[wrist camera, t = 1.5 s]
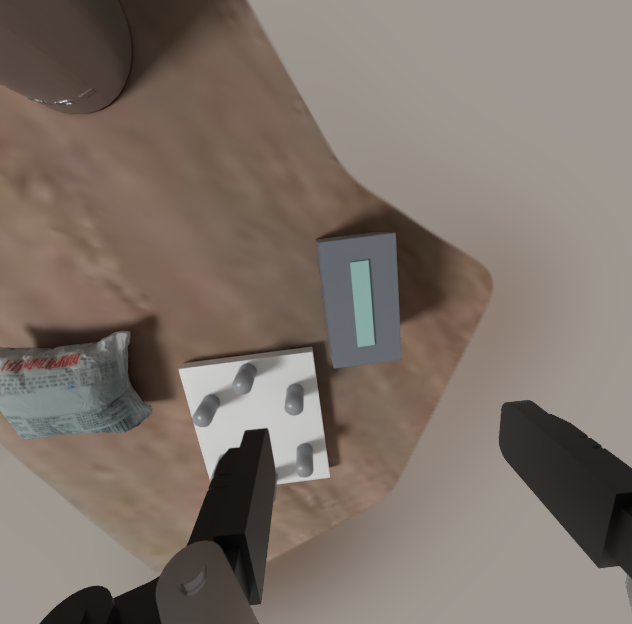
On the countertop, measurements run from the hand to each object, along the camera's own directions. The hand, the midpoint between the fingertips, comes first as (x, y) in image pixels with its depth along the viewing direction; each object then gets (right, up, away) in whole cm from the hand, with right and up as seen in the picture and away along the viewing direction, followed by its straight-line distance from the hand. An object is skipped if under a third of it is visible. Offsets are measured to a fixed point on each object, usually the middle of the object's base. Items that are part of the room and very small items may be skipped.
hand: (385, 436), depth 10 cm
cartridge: (+1, +6, +16) cm, 17 cm away
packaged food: (-24, -1, +17) cm, 29 cm away
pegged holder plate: (-8, -6, +19) cm, 22 cm away
